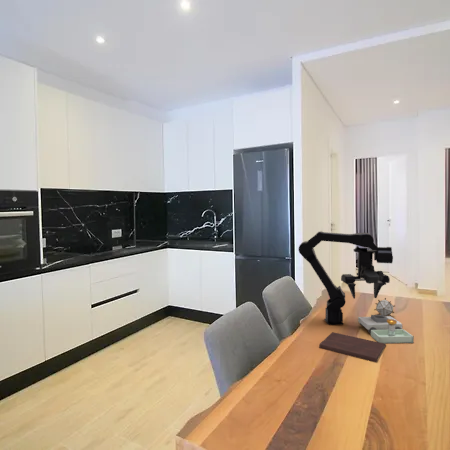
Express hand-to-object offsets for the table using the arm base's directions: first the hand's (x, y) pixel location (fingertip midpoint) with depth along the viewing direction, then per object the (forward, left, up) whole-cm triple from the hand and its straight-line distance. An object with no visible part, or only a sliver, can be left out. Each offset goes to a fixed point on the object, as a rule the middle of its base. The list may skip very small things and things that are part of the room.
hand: (364, 298), depth 140 cm
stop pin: (+4, -15, -11) cm, 19 cm away
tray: (+4, -15, -12) cm, 19 cm away
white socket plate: (+4, -5, -12) cm, 14 cm away
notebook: (-14, -21, -13) cm, 28 cm away
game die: (+14, +10, -12) cm, 21 cm away
